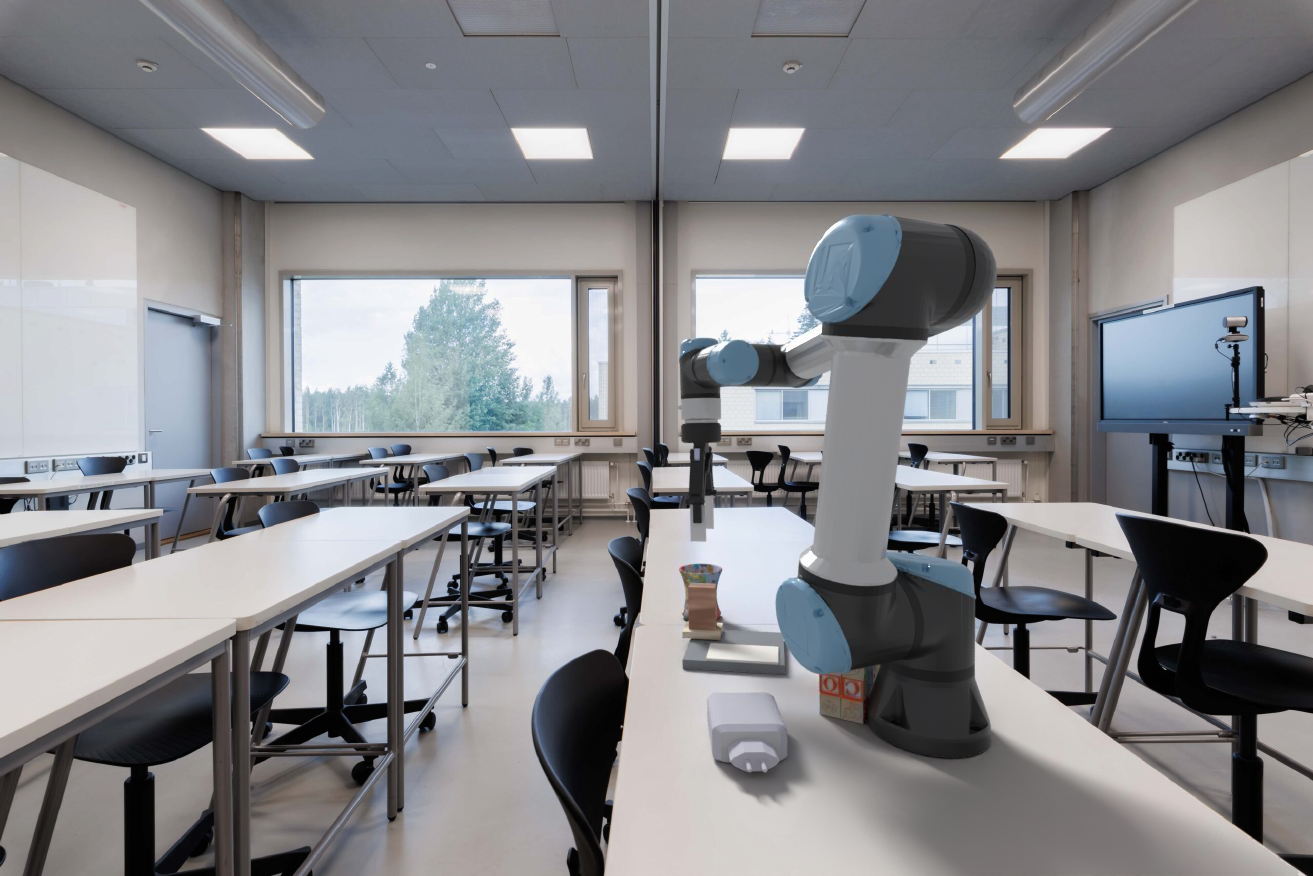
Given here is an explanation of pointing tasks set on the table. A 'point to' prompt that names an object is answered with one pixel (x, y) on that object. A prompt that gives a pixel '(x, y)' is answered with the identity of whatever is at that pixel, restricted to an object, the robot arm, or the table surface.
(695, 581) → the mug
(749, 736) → the charger
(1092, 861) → the table surface
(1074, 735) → the table surface
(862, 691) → the stack of blocks
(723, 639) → the board
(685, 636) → the stub
